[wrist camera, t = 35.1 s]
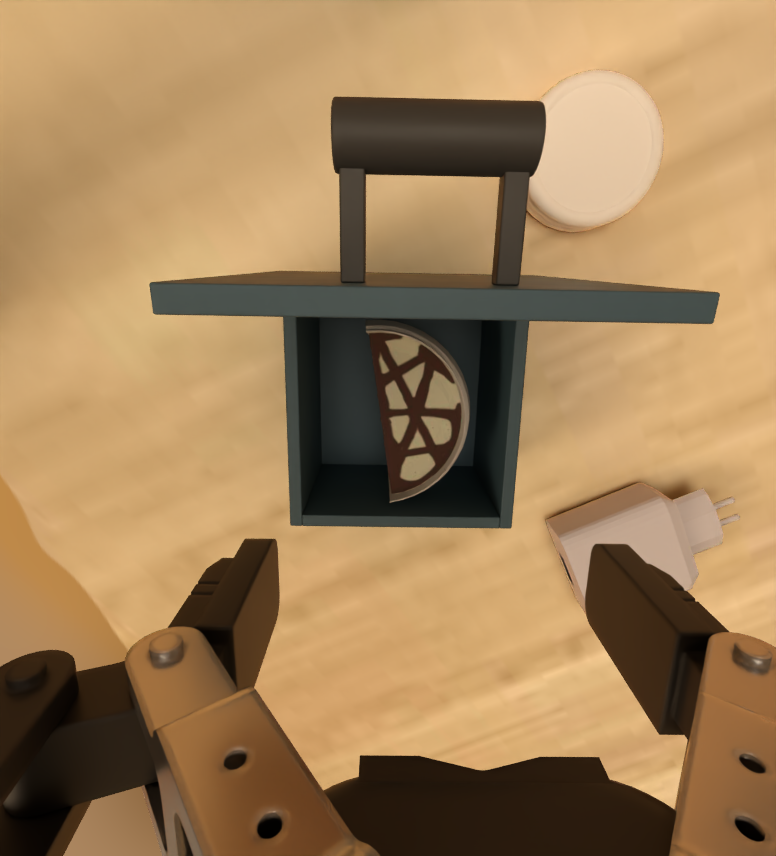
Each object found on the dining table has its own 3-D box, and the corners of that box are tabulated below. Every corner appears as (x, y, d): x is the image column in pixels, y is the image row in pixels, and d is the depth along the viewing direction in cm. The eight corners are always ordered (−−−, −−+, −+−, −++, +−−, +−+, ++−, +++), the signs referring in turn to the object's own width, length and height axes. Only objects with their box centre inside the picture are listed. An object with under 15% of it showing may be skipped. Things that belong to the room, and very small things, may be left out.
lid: (714, 324, 13) (769, 77, 11) (152, 314, 13) (119, 63, 11) (534, 290, 29) (545, 184, 27) (280, 285, 28) (275, 179, 27)
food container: (460, 453, 42) (483, 498, 33) (389, 462, 43) (390, 510, 33) (446, 306, 39) (466, 308, 30) (369, 316, 40) (364, 321, 30)
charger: (730, 539, 46) (575, 598, 47) (704, 451, 43) (542, 516, 45) (769, 566, 41) (596, 631, 42) (742, 469, 39) (560, 541, 40)
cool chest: (479, 471, 44) (511, 528, 33) (313, 469, 44) (290, 526, 33) (492, 287, 40) (532, 283, 29) (309, 284, 40) (281, 278, 29)
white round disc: (492, 213, 38) (503, 204, 35) (534, 70, 36) (550, 46, 33) (613, 247, 39) (635, 243, 36) (662, 110, 37) (690, 90, 33)
